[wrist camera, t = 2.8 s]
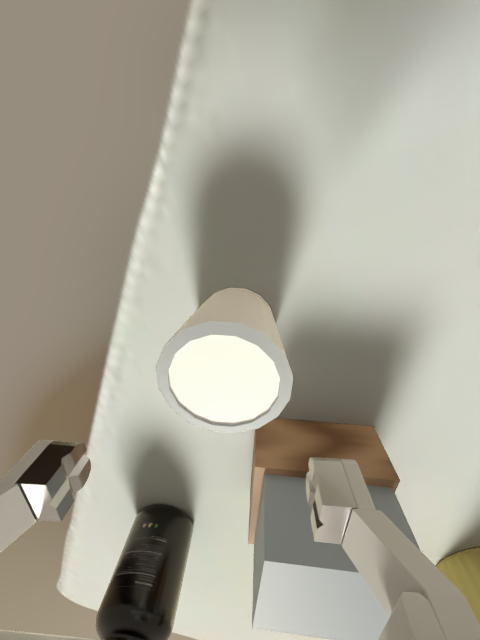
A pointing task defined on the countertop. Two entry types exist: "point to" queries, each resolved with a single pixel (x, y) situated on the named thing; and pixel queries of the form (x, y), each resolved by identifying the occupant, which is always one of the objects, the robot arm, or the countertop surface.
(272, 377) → the white piece
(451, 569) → the potted cactus
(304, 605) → the top block
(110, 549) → the countertop surface
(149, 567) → the supplement bottle
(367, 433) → the bottom block
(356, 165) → the countertop surface
